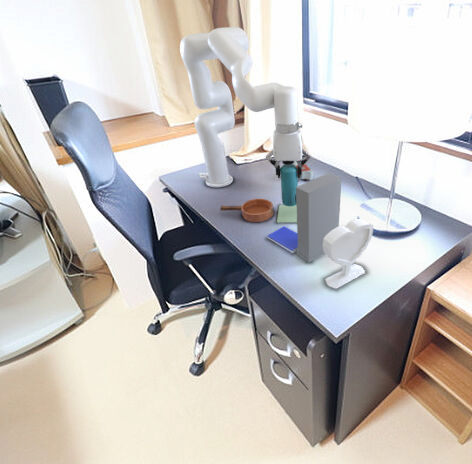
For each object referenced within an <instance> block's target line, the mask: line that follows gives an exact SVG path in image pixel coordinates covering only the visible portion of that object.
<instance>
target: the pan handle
mask: <svg viewBox="0 0 472 464" xmlns="http://www.w3.org/2000/svg"><path fill="white" fill-rule="evenodd" d="M241 207H242V205H220V211H241Z"/></svg>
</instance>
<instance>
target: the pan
mask: <svg viewBox="0 0 472 464" xmlns="http://www.w3.org/2000/svg"><path fill="white" fill-rule="evenodd" d="M241 206H242V207H241V210H240V211H241V216H242V218H243V219H244V220H245V221H247V222H251V223H260V222H265V221H267V220H270V219H271V218H272V217H273V216H274V204H273V203H272V201H271V200H269V199H266V198H253V199H249V200H246V201H245V202H244V203H242V204H241Z"/></svg>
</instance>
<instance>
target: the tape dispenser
mask: <svg viewBox="0 0 472 464" xmlns="http://www.w3.org/2000/svg"><path fill="white" fill-rule="evenodd" d="M293 165H295V166H296V167H297V176H298V164H297V162H296V161H294V163H293ZM314 172H315V171H314V170H312V169H311V167H309V166H308V165H307V164H306V163H305V164H304V165H303V166H302V175H300V179H301V180H305V181H311V180H314Z"/></svg>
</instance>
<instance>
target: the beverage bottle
mask: <svg viewBox="0 0 472 464" xmlns="http://www.w3.org/2000/svg"><path fill="white" fill-rule="evenodd" d="M281 162H282V164H283V165H282V166H280V188H281V192H280V193H281V202H282V205H285V206H295V205H297V203H296V187H297V186H299V178H298V176H297V167H296V166H295V165H293V163H294V162H295V161H281Z"/></svg>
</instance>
